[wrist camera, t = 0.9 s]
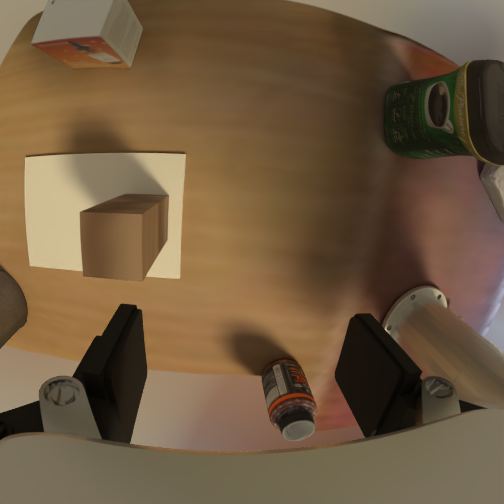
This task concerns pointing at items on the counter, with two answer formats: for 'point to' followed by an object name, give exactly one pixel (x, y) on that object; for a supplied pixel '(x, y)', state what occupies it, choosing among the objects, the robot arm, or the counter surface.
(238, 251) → the counter surface
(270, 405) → the supplement bottle
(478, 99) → the coffee jar
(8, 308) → the pillar candle
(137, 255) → the walnut block
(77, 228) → the cream mat
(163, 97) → the counter surface
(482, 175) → the stone block
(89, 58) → the small box
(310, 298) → the counter surface
